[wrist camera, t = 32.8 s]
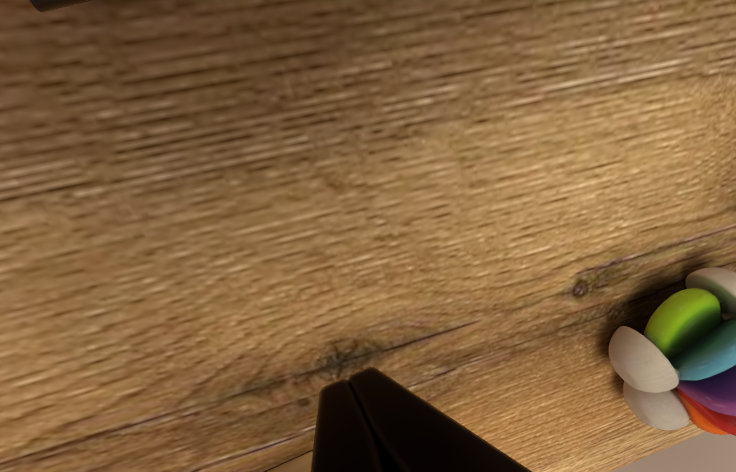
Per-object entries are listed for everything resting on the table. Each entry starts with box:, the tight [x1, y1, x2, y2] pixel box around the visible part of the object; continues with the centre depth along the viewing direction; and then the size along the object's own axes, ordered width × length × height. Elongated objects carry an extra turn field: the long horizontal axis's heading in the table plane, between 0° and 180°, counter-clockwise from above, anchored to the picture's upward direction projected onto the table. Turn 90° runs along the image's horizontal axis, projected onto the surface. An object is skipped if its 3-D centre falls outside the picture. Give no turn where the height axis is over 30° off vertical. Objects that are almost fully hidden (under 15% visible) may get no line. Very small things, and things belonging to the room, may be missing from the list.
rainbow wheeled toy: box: [609, 267, 736, 436], centre depth 28 cm, size 8×10×7 cm
